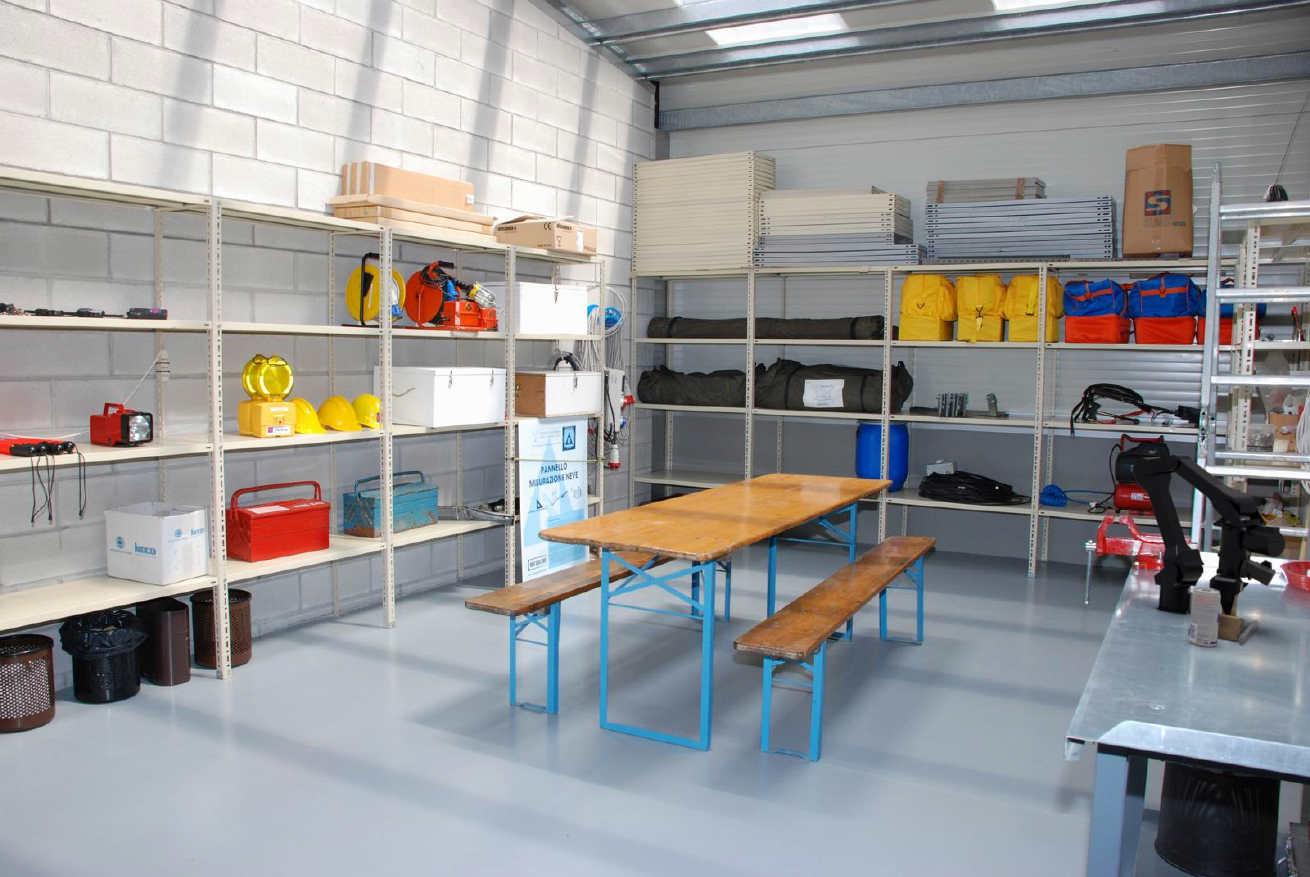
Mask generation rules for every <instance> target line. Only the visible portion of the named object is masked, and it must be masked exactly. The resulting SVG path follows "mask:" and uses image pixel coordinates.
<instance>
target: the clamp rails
mask: <svg viewBox="0 0 1310 877" xmlns="http://www.w3.org/2000/svg"><path fill="white" fill-rule="evenodd" d="M1258 624H1259V622H1258V620H1255V619H1253V620H1252V622H1251V623H1250V624H1249V626H1247V628H1246V629H1244V632H1243V633H1242V634H1241V635H1239V640H1238V645H1239V644H1240V646H1244V644H1245V643H1246V642H1247V641H1248V640H1249V638H1250V637H1251V636H1252V635H1253V633H1254V632H1255V631H1256V630H1257V629H1258ZM1254 630H1255V631H1254ZM1187 635H1188V636H1190V627H1189V628H1188V634H1187ZM1250 635H1251V636H1250ZM1248 637H1249V638H1248Z"/></svg>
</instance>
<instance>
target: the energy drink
mask: <svg viewBox="0 0 1310 877" xmlns="http://www.w3.org/2000/svg"><path fill="white" fill-rule="evenodd" d="M1192 593H1193V597H1192V609H1191V612H1190V625H1189V628H1190V635H1189V638H1188V640H1189V642H1190V644H1193V645H1195V646H1199V647H1204V648H1214V647H1217V645H1218V624H1219V614H1220V609H1221V604H1220V598H1221V595H1220V592H1219V591H1218V590H1214V589H1212V588H1209V587H1194V590H1193V592H1192ZM1213 646H1214V647H1213Z"/></svg>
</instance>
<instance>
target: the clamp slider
mask: <svg viewBox="0 0 1310 877" xmlns="http://www.w3.org/2000/svg"><path fill="white" fill-rule="evenodd" d="M1238 598H1239V595H1238V594H1237V595H1236V598H1235V601H1234V604H1233V608H1232V611H1231V614H1230V615H1225V614H1224V611H1223V609H1222V608H1221V612H1220V613H1219V624H1218V637H1217V639H1225V640H1230V641H1235V642H1239V638H1240V632H1241V631H1242V630H1243V628H1244V626H1245V619H1244V618H1241V616H1237V611H1238V608H1237V607H1238Z"/></svg>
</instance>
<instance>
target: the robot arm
mask: <svg viewBox="0 0 1310 877" xmlns="http://www.w3.org/2000/svg"><path fill="white" fill-rule="evenodd" d="M1131 470H1132V474H1133V476H1134V478H1135V481H1136V483H1137V484H1138V485H1139V486H1140V488H1141V489H1142V490H1144V492H1145V493H1146V494H1147V496H1148V499H1149V502H1150V506H1151V507H1152V508H1151V509H1152V512H1153V514H1154V517H1155V521H1156V524H1157V527H1158V530H1159V533H1160V537H1161V540H1162V542H1163V545H1164V551H1163V555H1162V565H1163V568H1162V569H1161V570H1159V571H1158V572H1157V573H1156V574H1154V575H1153V578H1154V584H1155V585H1157V586H1160V587H1159V598H1158V599H1159V600H1158V605H1157V607H1156V610H1159V611H1165V612H1171V613H1176V614H1182V615H1183V614H1184V615H1185V614H1187V613H1188V612H1190V610H1192V597H1193V592H1191V590H1192V587H1196V586H1197V584H1198V582H1199V580H1200V579H1201V578H1202V575H1203V574H1204V566H1205V563H1204V561H1203V559H1202V556H1201V552H1200V549H1198V548H1192V547H1191V546H1189V544H1188V543H1187V541H1186V538H1185V534H1184V531H1183V527H1182V525H1181V522H1180V519H1179V516H1178V513H1177V510H1176V507H1175V504H1174V500H1173V498H1172V495H1171V491H1170V486H1171V481H1172V474H1175V473H1176V474H1177V475H1178V476H1179V477H1180V478H1182V479H1183V480H1185V482H1187V483H1188V484H1189V485H1191V486H1192V487H1193V488H1195V489H1196V490H1198V492H1200V493H1201V494H1202V495H1204V496H1205V497H1206V498H1207V499H1208V500H1209V501H1210V504H1211V507H1212V509H1214V510H1215V512H1216V513H1217V514H1218V515H1219V516H1220V517H1219V519H1217V520H1215V521H1213V523H1212V526H1213V527H1218V528H1221V529H1220V530H1221V531H1220V542H1219V551H1218V552H1217V558H1218V565H1217V566H1218V568H1217V569H1216V571H1215V572H1216V574H1215V575H1213V576H1212V577H1211V578H1210V579H1209V586H1208V588H1210V589H1214V590H1218V591H1219V592H1220V595H1221V598H1220V607H1221V610H1222V609H1223V611H1224V614H1225V615H1230V614H1231V611H1232V608H1233V604H1234V601H1235V598H1236V595H1237V594H1238V596H1239V595H1240V594H1241V593H1242V592H1243V591H1244V590H1245V588H1247V587H1248V585H1249V584H1250V583H1249V582H1246V581H1243V579H1247V580H1248V581H1251V580H1255V581H1257V582H1259V583H1260V584H1261V585H1263V586H1267V587H1269V586H1270V585H1269V584H1271V582H1272V580H1273V578H1274V577H1275V575H1276V572H1277V571H1276V569H1274V568H1273V563H1272V562H1271V561H1269V560H1266V559H1264V560H1263V561H1261V562H1260V563H1259V561H1255V560H1252V559H1251V554H1250V553H1252V554H1253V553H1254V554H1258V555H1262V556H1266V557H1271V558H1278V557H1280V556H1281V555H1282V554H1283V552H1284V550H1285V547H1286V541H1285V537H1284V535H1283V534H1282V533H1281V531H1280V529H1281V527H1279V526H1275V525H1273V526H1272V525H1271V526H1270V525H1267V522H1266V521H1265V519H1264V518H1263V516H1262V514H1261V512H1260V510H1259V508H1258V507H1257V501H1256V499H1255V498H1254V497H1253V496H1251V495H1249V494H1247V493H1245V492H1244V491H1241V490H1239V489H1236V488H1233V487H1230V486H1228V485H1226V484H1225V483H1223V482H1221V481H1220V480H1219V479H1218V478H1216V477H1215V476H1214V475H1212V473H1210V472H1209V471H1207V470H1206V469H1205V468H1203V467H1202V466H1201V465H1199V464H1198V463H1197V462H1195V461H1194V460H1193V459H1192V458H1191V457H1190V456H1189V455H1187V454H1183V453H1181V454H1178V453H1177V454H1170V455H1169V456H1168V455H1167V456H1164V457H1163V456H1162V457H1159V456H1157V457H1156V456H1155V457H1139V458H1138V459H1136V460H1134V463H1133V465H1132V467H1131Z"/></svg>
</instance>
